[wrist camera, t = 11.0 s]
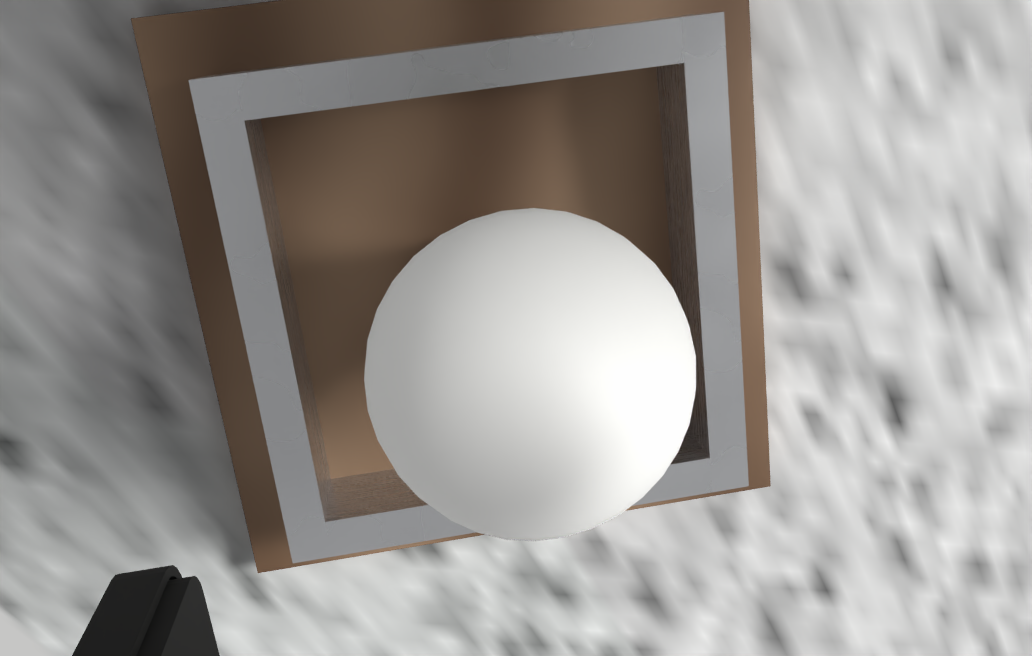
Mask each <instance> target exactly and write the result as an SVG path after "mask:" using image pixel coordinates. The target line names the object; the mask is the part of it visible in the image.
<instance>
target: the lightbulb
mask: <svg viewBox="0 0 1032 656" xmlns="http://www.w3.org/2000/svg"><path fill="white" fill-rule="evenodd" d="M364 383H365V392H366V400H367V409H368V413H369V416H370V419H371V422H372V425H373V428H374V431H375V434H376V437H377V440H378V442H379V443H380V445H381V447H382V449H383V450H384V452H385V454H386V456H387V457H388V459H389V461H390V462H391V464H392V466H393V467H394V469H395V471H396V472H397V474H398V476H399V477H400V478H401V479H402V480H403V481H404V482H405V483H406V484H407V485H408V486H409V488H410V489H411V490H412V491H413V492H414V493H415V494H416V495H417V496H418V497H419V498H420V499H421V500H423V501H424V502H426V503H427V504H428V505H430V506H431V507H433V508H434V509H435V510H437V511H438V512H440V513H441V514H442V515H444V516H445V517H447V518H448V519H449V520H451V521H453V522H455V523H457V524H460V525H462V526H464V527H466V528H468V529H471V530H473V531H475V532H477V533H481V534H485V535H489V536H493V537H498V538H502V539H506V540H525V541H539V540H547V539H555V538H563V537H567V536H570V535H574V534H577V533H580V532H583V531H587V530H590V529H593V528H595V527H597V526H599V525H601V524H603V523H605V522H607V521H609V520H611V519H613V518H615V517H617V516H618V515H620V514H621V513H623V512H624V511H625V510H627V509H628V508H629V507H631V506H632V505H633V504H635V503H636V502H637V501H639V500H640V499H641V498H643V497H644V496H645V494H646V493H647V492H648V491H649V490H650V489H651V488H652V487H653V486H654V485H655V484H656V483H657V482H658V481H659V479H660V478H661V477H662V476H663V475H664V473H665V472H666V470H667V469H668V467H669V465H670V464H671V462H672V461H673V459H674V458H675V456H676V455H677V453H678V451H679V449H680V447H681V444H682V442H683V439H684V437H685V434H686V432H687V429H688V427H689V424H690V419H691V414H692V409H693V403H694V398H695V391H696V355H695V350H694V345H693V341H692V336H691V332H690V327H689V324H688V321H687V318H686V316H685V313H684V311H683V309H682V307H681V304H680V302H679V300H678V298H677V296H676V293H675V291H674V289H673V287H672V286H671V285H670V283H669V282H668V281H667V279H666V278H665V277H664V275H663V274H662V272H661V271H660V270H659V268H658V267H657V266H656V264H655V263H654V262H653V261H652V260H650V259H649V258H648V257H647V256H646V255H645V254H644V253H642V252H641V251H640V250H639V249H638V248H637V247H636V246H635V245H633V244H632V243H631V242H630V241H629V240H627V239H626V238H625V237H624V236H622V235H620V234H618V233H616V232H615V231H613V230H611V229H609V228H608V227H606V226H604V225H602V224H601V223H599V222H597V221H594V220H591V219H588V218H585V217H582V216H579V215H576V214H572V213H569V212H566V211H557V210H548V209H539V208H529V209H517V210H506V211H499V212H496V213H492V214H489V215H485V216H482V217H479V218H475V219H472V220H469V221H467V222H465V223H463V224H461V225H459V226H457V227H455V228H453V229H451V230H449V231H447V232H445V233H443V234H442V235H440V236H438V237H437V238H436V239H435V240H433V241H432V242H431V243H430V244H428V245H427V246H426V247H425V248H423V249H422V250H421V251H419V252H418V253H417V254H416V255H414V256H413V258H412V259H411V260H410V261H409V262H408V263H407V265H406V266H405V267H404V268H403V269H402V270H401V272H400V273H399V274H398V275H397V276H396V278H395V279H394V280H393V281H392V283H391V285H390V286H389V288H388V290H387V292H386V294H385V296H384V297H383V299H382V301H381V303H380V305H379V306H378V308H377V311H376V314H375V317H374V320H373V323H372V327H371V330H370V333H369V336H368V340H367V350H366V361H365V373H364Z"/></svg>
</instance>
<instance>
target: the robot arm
mask: <svg viewBox="0 0 1032 656" xmlns="http://www.w3.org/2000/svg"><path fill="white" fill-rule="evenodd" d="M72 656H220V655H219V652H218V648H217V644H216V640H215V636H214V632H213V628H212V624H211V620H210V616H209V612H208V609H207V605H206V601H205V597H204V593H203V589H202V586H201V583H200V581H199V580H198V578H197V577H195V576H192V577H186V578H182V576H181V574H180V572H179V570H178V569H177V568H176V567H175V566H173V565H172V566H165V567H159V568H153V569H147V570H141V571H134V572H128V573H122V574H117V575H115V576H114V578H113V579H112V580H111V582H110V584H109V586H108V588H107V589H106V591H105V593H104V595H103V597H102V599H101V601H100V603H99V605H98V607H97V609H96V611H95V613H94V614H93V616H92V618H91V620H90V622H89V624H88V626H87V628H86V630H85V632H84V634H83V636H82V638H81V639H80V641H79V643H78V645H77V647H76V649H75V651H74V653H73V655H72Z"/></svg>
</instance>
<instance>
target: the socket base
mask: <svg viewBox="0 0 1032 656" xmlns="http://www.w3.org/2000/svg"><path fill="white" fill-rule="evenodd" d="M715 12H724V20H725V39H726V58H727V77H728V97H729V116H730V135H731V154H732V173H733V193H734V212H735V231H736V250H737V269H738V289H739V308H740V327H741V346H742V365H743V385H744V404H745V423H746V442H747V461H748V481H749V486H747V487H741V488H736V489H730V490H724V491H718V492H712V493H706V494H700V495H694V496H688V497H682V498H676V499H671V500H665V501H659V502H653V503H647V504H641V505H635V506H631V507H629V508H628V509H627V510H633V509H638V508H644V507H650V506H656V505H662V504H668V503H674V502H680V501H686V500H692V499H697V498H703V497H709V496H715V495H721V494H727V493H733V492H739V491H745V490H750V489H756V488H762V487H768V486H770V464H769V441H768V419H767V396H766V374H765V352H764V329H763V307H762V284H761V262H760V239H759V217H758V194H757V172H756V150H755V127H754V105H753V82H752V60H751V37H750V15H749V0H279V1H271V2H263V3H255V4H246V5H238V6H230V7H222V8H213V9H205V10H197V11H189V12H181V13H172V14H164V15H156V16H148V17H139V18H131V21H132V26H133V30H134V34H135V39H136V43H137V48H138V52H139V56H140V61H141V65H142V69H143V74H144V78H145V82H146V87H147V91H148V96H149V100H150V104H151V109H152V113H153V117H154V122H155V126H156V130H157V135H158V139H159V144H160V148H161V152H162V157H163V161H164V165H165V170H166V174H167V178H168V183H169V187H170V192H171V196H172V200H173V205H174V209H175V213H176V218H177V222H178V226H179V231H180V235H181V240H182V244H183V248H184V253H185V257H186V261H187V266H188V270H189V274H190V279H191V283H192V288H193V292H194V296H195V301H196V305H197V309H198V314H199V318H200V323H201V327H202V331H203V336H204V340H205V344H206V349H207V353H208V357H209V362H210V366H211V371H212V375H213V379H214V384H215V388H216V392H217V397H218V401H219V405H220V410H221V414H222V419H223V423H224V427H225V432H226V436H227V440H228V445H229V449H230V453H231V458H232V462H233V467H234V471H235V475H236V480H237V484H238V488H239V493H240V497H241V501H242V506H243V510H244V515H245V519H246V523H247V528H248V532H249V536H250V541H251V545H252V549H253V554H254V558H255V563H256V567H257V571H258V573H261V572H267V571H273V570H279V569H285V568H291V567H297V566H302V565H308V564H314V563H320V562H326V561H332V560H338V559H344V558H350V557H356V556H361V555H367V554H373V553H379V552H385V551H391V550H397V549H403V548H409V547H414V546H420V545H426V544H432V543H438V542H444V541H450V540H456V539H462V538H468V537H473V536H479V535H485V534H481V533H477V532H476V533H470V534H464V535H458V536H452V537H446V538H440V539H434V540H428V541H423V542H417V543H411V544H405V545H399V546H393V547H387V548H381V549H375V550H369V551H363V552H358V553H352V554H346V555H340V556H334V557H328V558H322V559H316V560H310V561H304V562H299V563H293V562H292V558H291V553H290V549H289V544H288V539H287V535H286V530H285V525H284V521H283V516H282V512H281V507H280V502H279V498H278V493H277V488H276V484H275V479H274V474H273V470H272V465H271V461H270V456H269V451H268V447H267V442H266V437H265V433H264V428H263V424H262V419H261V414H260V410H259V405H258V400H257V396H256V391H255V386H254V382H253V377H252V373H251V368H250V363H249V359H248V354H247V349H246V345H245V340H244V336H243V331H242V326H241V322H240V317H239V312H238V308H237V303H236V298H235V294H234V289H233V285H232V280H231V275H230V271H229V266H228V261H227V257H226V252H225V248H224V243H223V238H222V234H221V229H220V224H219V220H218V215H217V210H216V206H215V201H214V197H213V192H212V187H211V183H210V178H209V173H208V169H207V164H206V160H205V155H204V150H203V146H202V141H201V136H200V132H199V127H198V122H197V118H196V113H195V109H194V104H193V99H192V95H191V90H190V85H189V81H188V80H191V79H196V78H200V77H205V76H210V75H218V74H226V73H234V72H242V71H250V70H257V69H265V68H273V67H281V66H289V65H297V64H305V63H312V62H320V61H328V60H336V59H344V58H352V57H360V56H367V55H375V54H383V53H391V52H399V51H407V50H415V49H422V48H430V47H438V46H446V45H454V44H462V43H470V42H477V41H485V40H493V39H501V38H509V37H517V36H525V35H532V34H540V33H548V32H556V31H564V30H572V29H580V28H588V27H595V26H603V25H611V24H619V23H627V22H635V21H643V20H650V19H658V18H666V17H674V16H682V15H690V14H702V13H715ZM260 120H261V125H262V130H263V135H264V140H265V145H266V151H267V156H268V161H269V166H270V171H271V176H272V181H273V186H274V191H275V196H276V201H277V207H278V212H279V217H280V222H281V227H282V232H283V237H284V242H285V247H286V252H287V257H288V263H289V268H290V273H291V278H292V283H293V288H294V293H295V298H296V303H297V308H298V313H299V319H300V324H301V329H302V334H303V339H304V344H305V349H306V354H307V359H308V364H309V370H310V375H311V380H312V385H313V390H314V395H315V400H316V405H317V410H318V415H319V420H320V426H321V431H322V436H323V441H324V446H325V451H326V456H327V461H328V466H329V471H330V476H331V479H333V478H340V477H346V476H352V475H358V474H364V473H370V472H376V471H383V470H389V469H394V467H393V466H392V464H391V462H390V461H389V459H388V457H387V456H386V454H385V452H384V450H383V449H382V447H381V445H380V443H379V442H378V440H377V437H376V434H375V431H374V428H373V425H372V422H371V419H370V416H369V413H368V409H367V400H366V392H365V383H364V373H365V361H366V350H367V340H368V336H369V333H370V330H371V327H372V323H373V320H374V317H375V314H376V311H377V308H378V306H379V305H380V303H381V301H382V299H383V297H384V296H385V294H386V292H387V290H388V288H389V286H390V285H391V283H392V281H393V280H394V279H395V278H396V276H397V275H398V274H399V273H400V272H401V270H402V269H403V268H404V267H405V266H406V265H407V263H408V262H409V261H410V260H411V259H412V258H413V256H414V255H416V254H417V253H418V252H419V251H421V250H422V249H423V248H425V247H426V246H427V245H428V244H430V243H431V242H432V241H433V240H435V239H436V238H437V237H438V236H440V235H442V234H443V233H445V232H447V231H449V230H451V229H453V228H455V227H457V226H459V225H461V224H463V223H465V222H467V221H469V220H472V219H475V218H479V217H482V216H485V215H489V214H492V213H496V212H499V211H506V210H517V209H529V208H539V209H548V210H557V211H566V212H569V213H572V214H576V215H579V216H582V217H585V218H588V219H591V220H594V221H597V222H599V223H601V224H602V225H604V226H606V227H608V228H609V229H611V230H613V231H615V232H616V233H618V234H620V235H622V236H624V237H625V238H626V239H627V240H629V241H630V242H631V243H632V244H633V245H635V246H636V247H637V248H638V249H639V250H640V251H641V252H642V253H644V254H645V255H646V256H647V257H648V258H649V259H650V260H652V261H653V262H654V263H655V264H656V266H657V267H658V268H659V270H660V271H661V272H662V274H663V275H664V277H665V278H666V279H667V281H668V282H669V283H670V285H671V286H672V273H671V260H670V246H669V232H668V219H667V205H666V192H665V178H664V164H663V151H662V137H661V123H660V110H659V96H658V83H657V69H656V67H649V68H641V69H633V70H626V71H618V72H611V73H603V74H595V75H588V76H580V77H572V78H565V79H557V80H550V81H542V82H534V83H527V84H519V85H512V86H504V87H496V88H489V89H481V90H474V91H466V92H458V93H451V94H443V95H435V96H428V97H420V98H413V99H405V100H397V101H390V102H382V103H375V104H367V105H359V106H352V107H344V108H337V109H329V110H321V111H314V112H306V113H298V114H291V115H283V116H276V117H268V118H260ZM627 510H625V511H627Z"/></svg>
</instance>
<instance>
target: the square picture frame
mask: <svg viewBox="0 0 1032 656" xmlns="http://www.w3.org/2000/svg"><path fill="white" fill-rule="evenodd" d="M649 67H656V69H657V83H658V96H659V110H660V123H661V137H662V151H663V164H664V178H665V192H666V205H667V219H668V232H669V246H670V260H671V273H672V287H673V289H674V291H675V293H676V296H677V298H678V300H679V302H680V304H681V307H682V309H683V311H684V313H685V316H686V318H687V321H688V324H689V327H690V332H691V336H692V341H693V345H694V350H695V355H696V391H695V398H694V403H693V409H692V414H691V419H690V424H689V427H688V429H687V432H686V434H685V437H684V439H683V442H682V444H681V447H680V449H679V451H678V453H677V455H676V456H675V458H674V459H673V461H672V462H671V464H670V465H669V467H668V469H667V470H666V472H665V473H664V475H663V476H662V477H661V478H660V479H659V481H658V482H657V483H656V484H655V485H654V486H653V487H652V488H651V489H650V490H649V491H648V492H647V493H646V494H645V496H644V497H643V498H641V499H640V500H639V501H637V502H636V503H635V504H633V505H632V506H635V505H641V504H647V503H653V502H659V501H665V500H671V499H676V498H682V497H688V496H694V495H700V494H706V493H712V492H718V491H724V490H730V489H736V488H741V487H747V486H749V481H748V461H747V442H746V423H745V404H744V385H743V365H742V346H741V327H740V308H739V289H738V269H737V250H736V231H735V212H734V193H733V173H732V154H731V135H730V116H729V97H728V77H727V58H726V39H725V20H724V12H715V13H702V14H690V15H682V16H674V17H666V18H658V19H650V20H643V21H635V22H627V23H619V24H611V25H603V26H595V27H588V28H580V29H572V30H564V31H556V32H548V33H540V34H532V35H525V36H517V37H509V38H501V39H493V40H485V41H477V42H470V43H462V44H454V45H446V46H438V47H430V48H422V49H415V50H407V51H399V52H391V53H383V54H375V55H367V56H360V57H352V58H344V59H336V60H328V61H320V62H312V63H305V64H297V65H289V66H281V67H273V68H265V69H257V70H250V71H242V72H234V73H226V74H218V75H210V76H205V77H200V78H196V79H191V80H188V81H189V85H190V90H191V95H192V99H193V104H194V109H195V113H196V118H197V122H198V127H199V132H200V136H201V141H202V146H203V150H204V155H205V160H206V164H207V169H208V173H209V178H210V183H211V187H212V192H213V197H214V201H215V206H216V210H217V215H218V220H219V224H220V229H221V234H222V238H223V243H224V248H225V252H226V257H227V261H228V266H229V271H230V275H231V280H232V285H233V289H234V294H235V298H236V303H237V308H238V312H239V317H240V322H241V326H242V331H243V336H244V340H245V345H246V349H247V354H248V359H249V363H250V368H251V373H252V377H253V382H254V386H255V391H256V396H257V400H258V405H259V410H260V414H261V419H262V424H263V428H264V433H265V437H266V442H267V447H268V451H269V456H270V461H271V465H272V470H273V474H274V479H275V484H276V488H277V493H278V498H279V502H280V507H281V512H282V516H283V521H284V525H285V530H286V535H287V539H288V544H289V549H290V553H291V558H292V562H293V563H299V562H304V561H310V560H316V559H322V558H328V557H334V556H340V555H346V554H352V553H358V552H363V551H369V550H375V549H381V548H387V547H393V546H399V545H405V544H411V543H417V542H423V541H428V540H434V539H440V538H446V537H452V536H458V535H464V534H470V533H476V532H475V531H473V530H471V529H468V528H466V527H464V526H462V525H460V524H457V523H455V522H453V521H451V520H449V519H448V518H447V517H445V516H444V515H442V514H441V513H440V512H438V511H437V510H435V509H434V508H433V507H431V506H430V505H428V504H427V503H426V502H424V501H423V500H421V499H420V498H419V497H418V496H417V495H416V494H415V493H414V492H413V491H412V490H411V489H410V488H409V486H408V485H407V484H406V483H405V482H404V481H403V480H402V479H401V478H400V477H399V476H398V474H397V472H396V471H395V469H389V470H383V471H376V472H370V473H364V474H358V475H352V476H346V477H340V478H333V479H331V476H330V471H329V466H328V461H327V456H326V451H325V446H324V441H323V436H322V431H321V426H320V420H319V415H318V410H317V405H316V400H315V395H314V390H313V385H312V380H311V375H310V370H309V364H308V359H307V354H306V349H305V344H304V339H303V334H302V329H301V324H300V319H299V313H298V308H297V303H296V298H295V293H294V288H293V283H292V278H291V273H290V268H289V263H288V257H287V252H286V247H285V242H284V237H283V232H282V227H281V222H280V217H279V212H278V207H277V201H276V196H275V191H274V186H273V181H272V176H271V171H270V166H269V161H268V156H267V151H266V145H265V140H264V135H263V130H262V125H261V120H260V118H268V117H276V116H283V115H291V114H298V113H306V112H314V111H321V110H329V109H337V108H344V107H352V106H359V105H367V104H375V103H382V102H390V101H397V100H405V99H413V98H420V97H428V96H435V95H443V94H451V93H458V92H466V91H474V90H481V89H489V88H496V87H504V86H512V85H519V84H527V83H534V82H542V81H550V80H557V79H565V78H572V77H580V76H588V75H595V74H603V73H611V72H618V71H626V70H633V69H641V68H649Z"/></svg>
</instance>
